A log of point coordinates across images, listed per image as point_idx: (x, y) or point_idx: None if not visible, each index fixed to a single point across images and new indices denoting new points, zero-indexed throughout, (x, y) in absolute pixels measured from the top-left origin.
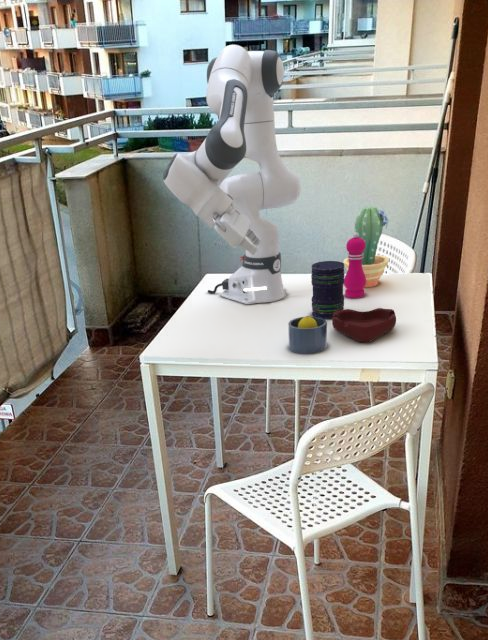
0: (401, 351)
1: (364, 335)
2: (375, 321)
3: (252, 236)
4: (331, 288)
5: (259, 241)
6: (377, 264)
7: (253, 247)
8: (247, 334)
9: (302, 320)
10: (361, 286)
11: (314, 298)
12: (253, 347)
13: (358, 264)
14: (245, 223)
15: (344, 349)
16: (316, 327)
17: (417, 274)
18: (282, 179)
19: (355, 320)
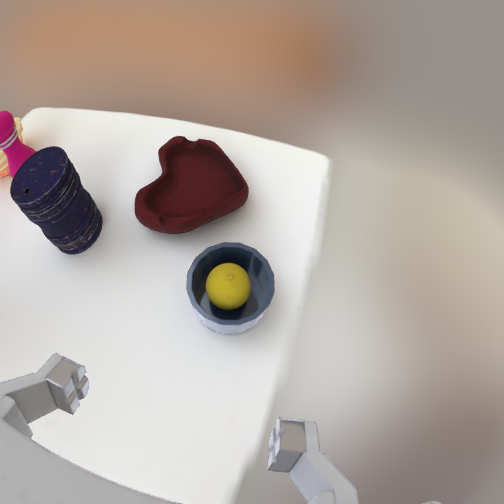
0: (286, 170)
1: (247, 196)
2: (182, 168)
3: (37, 399)
4: (79, 194)
5: (81, 369)
6: (18, 128)
7: (316, 444)
8: (119, 400)
9: (233, 291)
10: None
11: (62, 235)
12: (199, 404)
13: (19, 142)
14: (20, 476)
15: (259, 239)
16: (269, 269)
17: (29, 112)
18: None
19: (164, 193)
